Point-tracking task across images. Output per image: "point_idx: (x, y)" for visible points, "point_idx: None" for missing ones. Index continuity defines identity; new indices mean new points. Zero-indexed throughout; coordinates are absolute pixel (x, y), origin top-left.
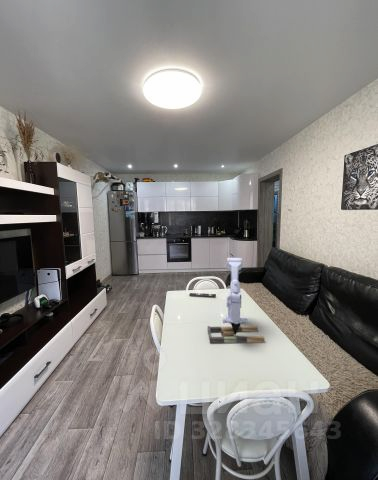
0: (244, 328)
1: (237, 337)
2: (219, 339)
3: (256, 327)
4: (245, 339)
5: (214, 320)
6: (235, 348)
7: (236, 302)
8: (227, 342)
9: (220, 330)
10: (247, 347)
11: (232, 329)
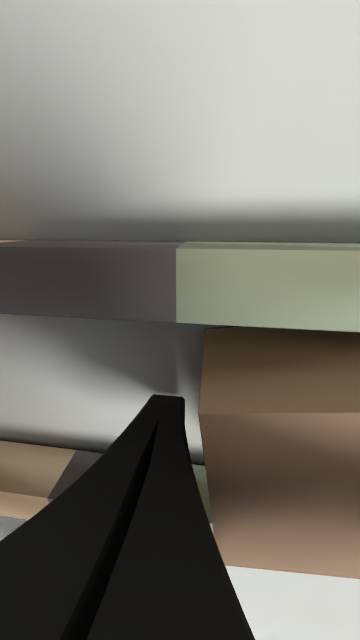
0: (22, 484)
1: (148, 285)
2: None
3: None
4: (11, 244)
5: (308, 618)
6: (253, 48)
7: None
8: (348, 244)
9: None
10: (27, 97)
11: None
